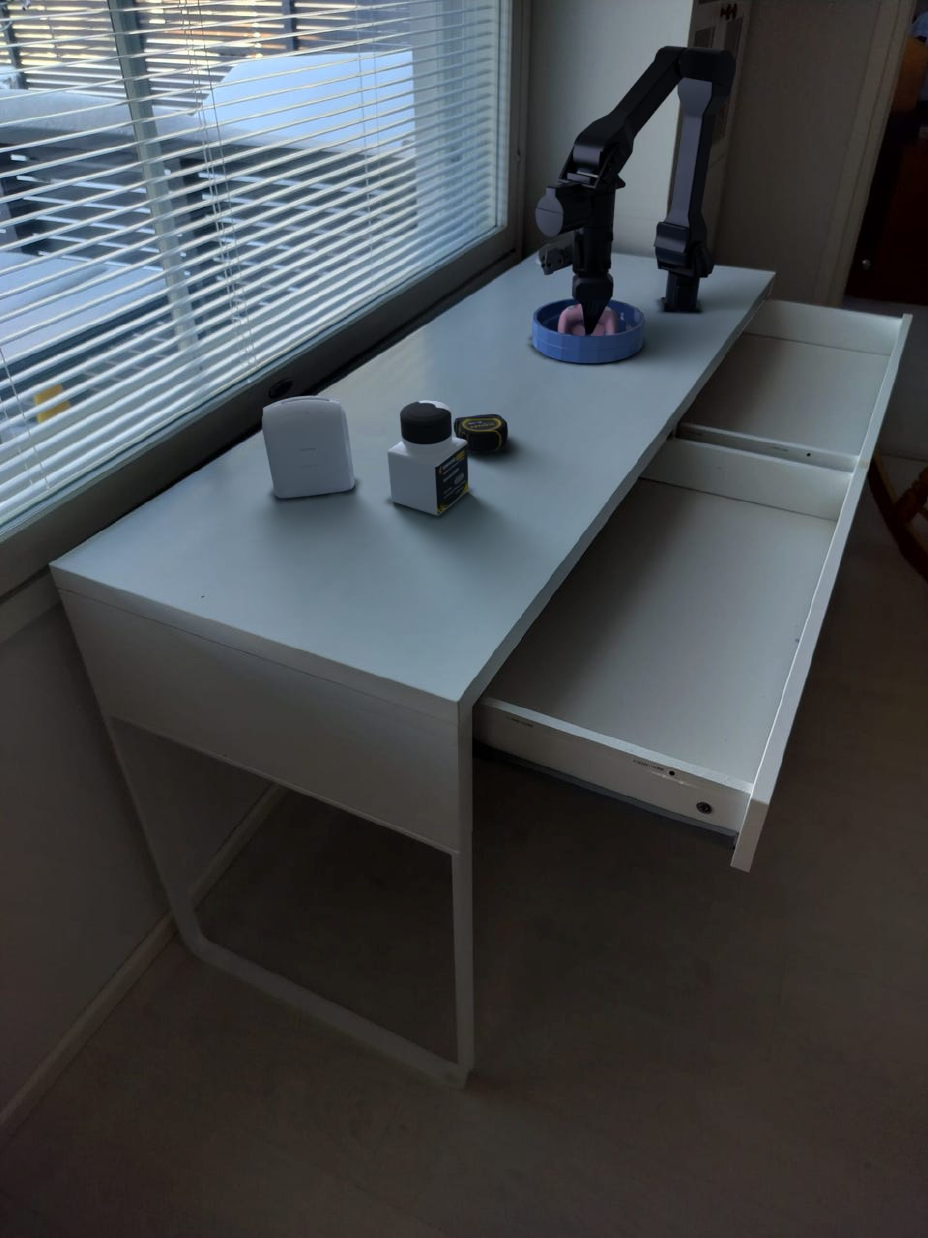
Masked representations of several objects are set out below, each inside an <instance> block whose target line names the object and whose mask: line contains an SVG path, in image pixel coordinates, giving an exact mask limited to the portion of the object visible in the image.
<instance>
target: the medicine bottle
mask: <svg viewBox="0 0 928 1238" xmlns="http://www.w3.org/2000/svg"><path fill="white" fill-rule="evenodd" d="M399 421H400V422H399V423H400V433H401V435H400V436H401V440H400V441H399V442H398V443H396V444H395V445H393V446H392V447H391V448H389V449H388V450H387V454H386V455H387V464H388V475H389V486H390V497H391V502H392V503H395V504H399V505H402V506H405V507H408V508H412V509H415V510H417V511H421V512H425V513H427V514H431V515H433V516H440V515H441V514H442V513H444V512H445V511H446V510H447V509H448V508H449V507H451V506H452V505H453V504H454V503H456V502H457V501H458V500H459V499H461V497H463V496H464V495H465V494H466V493H468V491H469V455H468V453H469V451H468V450H467V441H466V440H463V439H459V438H457V437H456V436H453V422H452V421H453V420H452V410H451V408H450V407H448V405H447V404H445V403H443V402H440V401H436V400H430V399H428V400H427V399H424V400H418V401H414V402H411V403H408V404H407V405H405V406H403V408H402V410H401V411H400V413H399Z"/></svg>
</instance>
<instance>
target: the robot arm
mask: <svg viewBox="0 0 928 1238" xmlns="http://www.w3.org/2000/svg"><path fill="white" fill-rule="evenodd" d="M736 60H737V59H736V58H734V55H733V52H732V51H731V50H730V49H727V48H715V47H704V46H691V47H688V46H679V45H664V46H663V47H660V48H659V49H658V50H657V51H656V53H655V55H654V60H653V61H652V62H651V63H650V64H649V65H648V66H647V68H646V69H645V70H644V72H643V73H642V74H641V75H640V76H639V78H638V79H637V80H636V81H635V82H634V84H633V85H632V86H631V87H630V89H629V90H628V91H627V92H626V93H625V94H624V96H623V97H622V98H621V99H620V101H619V102H618V103H617V104H616V106H615V107H614V108H613V109H612V110H611V111H610V112H609V113H608V114H606V115H604V116H602V117H600V118H597V119H596V120H595V119H594V121H592V122H591V123H589V124H588V125H587V127H585V128H584V129H583V130H581V132H579V133H578V135H577V136H576V137H575V139H574V142H573V144H572V148H571V150H570V152H569V154H568V156H567V158H566V160H565V162H564V165H563V167H562V169H561V171H560V174H559V176H558V178H557V183H558V184H550V185H547V186H546V189H545V190H546V191H545V195H543V196H542V197H541V198H540V199H539V201H538V203H537V206H536V208H535V210H534V211H535V213H534V214H535V222H536V225H537V227H538V229H539V230H540V232H541V233H542V234H543V235H544V236H545V237H548V238H554V237H557V236H561V235H564V234H568V233H571V232H573V236H570V237H568V238H564V239H561V240H558V241H555V242H553V243H550V244H548V245H547V244H546V245H545V246H541V248H539V250H538V254H537V255H538V259H539V262H540V267H541V269H542V271H543V274H544V276H550V275H553V274H554V272H557V271H559V270H562V269H566V268H568V267H570V266H571V268H572V269H571V270H572V272H573V274H574V275H573V276H572V279H571V280H572V281H571V297H572V298H574V299H575V300H577V301H578V302H579V303H580V304H581V305H582V312H583V319H584V326H585V333H586V334H592V333H593V331H594V329H595V327H596V325H597V323H598V321H599V319H600V317H601V316H602V314H603V312H604V310H605V308H606V306H607V304H608V302H609V300H612V298H613V297H614V287H615V286H614V285H615V284H614V277H613V276H612V274H611V273H610V270H611V269H612V249H613V242H614V220H615V210H616V209H615V208H616V193H617V190H620V189H623V188H625V187H626V186H627V184H626V182H625V181H624V179H623V178H622V177H620V175H619V174H620V173H621V172H622V171H623V168H624V167H625V165H626V164H627V162H628V161H629V159H630V158H631V156H632V154H633V153H634V145H635V139H636V137H637V136H638V134H639V133H640V131H641V130H642V129H643V128H644V127H645V125H646V124H647V123H648V122H649V120H650V119H651V118H652V117H653V115H655V113H656V112H657V111H658V110H659V108H660V107H661V106H662V104H663V103H664V102H665V101H666V100H667V98H668V97H669V96H670V95H671V93H672V92H673V91H674V90H675V89H676V88H677V90H676V94H677V96H678V99H679V103H680V105H681V108H682V111H683V119H682V126H681V127H682V129H681V136H680V143H679V148H678V149H679V150H678V155H677V156H678V158H677V165H676V173H675V179H674V180H675V181H674V186H673V194H672V201H671V208H670V211H669V212H668V214H667V215H666V217H665V218H664V220H663V221H658V222H657V224H656V226H655V227H656V228H655V238H654V243H653V245H652V246H653V247H654V254H655V257H656V264H657V269H658V270H662V271H667V279H666V285H665V295H664V296H662V297H660V302H661V307H662V311H663V312H670V313H671V312H674V313H677V312H679V313H699V312H701V305H700V303H699V302H700V301H699V300H698V297H699V290H700V284H701V283H700V282H701V279H706V278H709V276H710V275H711V274H712V273H713V271H714V268H715V265H716V259H715V258H714V256H713V254H712V253H711V250H710V248H709V247H708V246H707V245H708V244H707V243H708V226H707V224H706V221H705V218H704V216H703V213H702V208H703V201H704V195H705V188H706V183H707V175H708V168H709V164H710V156H711V152H712V151H711V149H712V144H713V136H714V131H715V125H716V118H717V114H718V112H719V111H720V110H721V108H722V107H723V106H724V104H725V103H726V101H727V100H728V98H729V97H730V95H731V90H732V86H733V82H734V78H735V76H736V72H737V61H736ZM578 172H580V173H578Z"/></svg>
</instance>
